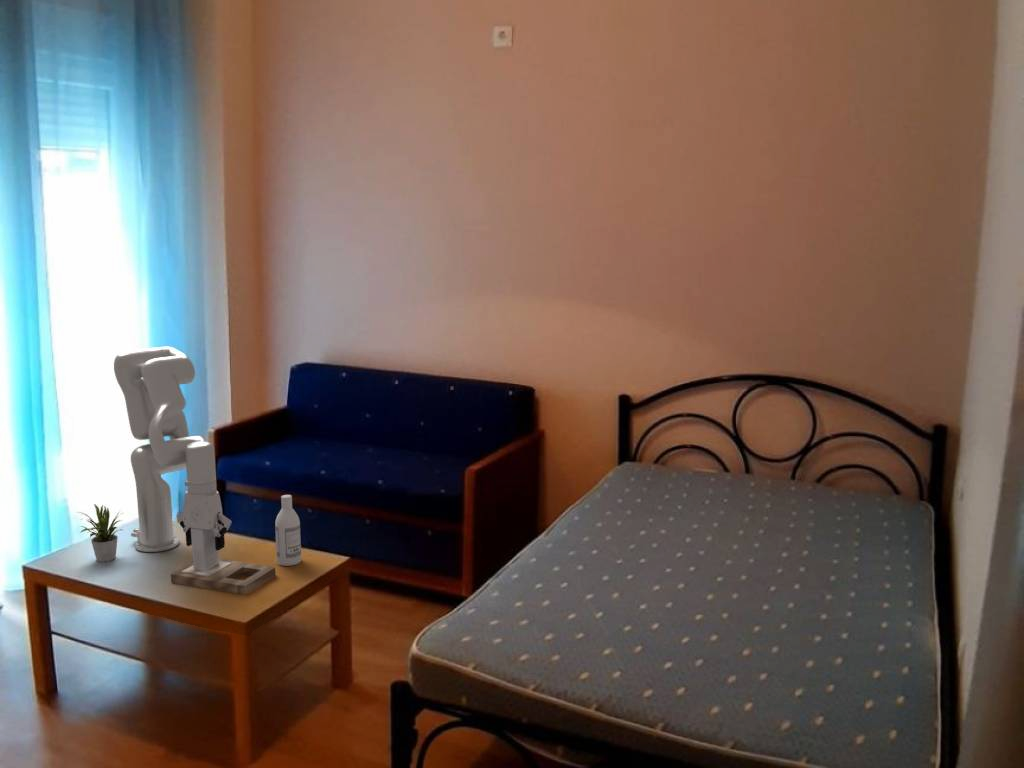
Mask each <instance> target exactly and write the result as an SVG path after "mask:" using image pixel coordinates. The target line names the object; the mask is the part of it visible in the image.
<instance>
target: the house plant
mask: <svg viewBox="0 0 1024 768" xmlns="http://www.w3.org/2000/svg"><path fill="white" fill-rule="evenodd" d="M93 506H94V509H95V512H96V516H97V522H95V521H94V520H93V519H92V518H91V517H90V516H89V515H88V514H86V513H83V512H81V511H77V513H79V514H80V515H82V516H83V515H84V516H85V517H88V518H87V522H88V523H89V524H91V525H92V526H93V527H90V528H88V527H86V526H83V525H82V526H80V527H81V528H84V529H82V530H81V531H79V532H80V533H83V532H85V531H88V532H86V533H87V534H88V533H90V535H89V538H90V539H91V540H90V541H91V545H92V548H93V552H94V555H95V560H96V561H97V562H98V561H100V562H99V563H105V562H104V561H107V562H111V561H113V559H114V560H115V559H116V558H117V548H118V547H117V546H118V539H119V537H118V535H117V534H116V533H117V532H118V531H123V529H117V528H118V527H117V526H115V525H117V523H119V522H123V520H122V519H121V520H117V519H118V518H119V516H120V515H122V514H124V512H121V513H117V514H116V515H115V517H114V518H113V520H112V521H111V524H110V526H109V523H110V517H111V516H110V514H111V513H110V509H109V507H107V506H105V505H104V504H102V505H101V507H100V508H99V506H98V505H97V504H95V503H93ZM103 507H104V508H103ZM120 511H122V509H120ZM79 520H80V521H81V520H82V518H80V519H79ZM116 529H117V530H116ZM80 533H79V534H80ZM93 536H95V537H93ZM91 537H93V538H91ZM110 560H111V561H110Z"/></svg>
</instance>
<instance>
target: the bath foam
mask: <svg viewBox="0 0 1024 768" xmlns="http://www.w3.org/2000/svg"><path fill="white" fill-rule="evenodd" d="M292 496H293V495H291V494H284V495H281V496H280V498H281V499H280V500H281V501H280V502H281V508H280V511H279V512H278V513H277V515H276V518H275V526H274V529H275V548H276V549H275V550H276V551H275V552H276V563H277V565H279V566H284V567H292V566H296V565H298V564H300V563H301V561H302V544H301V543H302V541H301V540H302V539H301V521H300V517H299V515H298V514H297V512H296V511H295V509H294V508H293V497H292Z"/></svg>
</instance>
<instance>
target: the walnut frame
mask: <svg viewBox="0 0 1024 768" xmlns="http://www.w3.org/2000/svg"><path fill="white" fill-rule="evenodd" d="M276 573H277V572H276V567H275V566H269V565H263V564H256V563H249V562H243V561H237V560H230V559H224V558H219V564H217V565H216V566H214V567H212V568H210V569H208V570H207V571H201V570H195V569H194V566H193V561H192V562H190V563H188V564H187V565H184V566H183V567H181V568H179V569H177V570H176V571H173V572H172V573H171V574H170V581H171V582H172V583H171V582H170V583H171V584H176V583H179V584H178V585H182V584H184V585H183V586H188V585H190V587H194V586H196V587H195V588H200V587H201V588H202V589H206V588H207V590H208V589H209V590H212V589H213V591H219V592H226V593H231V594H237V595H244V596H246V595H248V594H250V593H251V592H253V591H254V590H256V589H257V588H259V587H260V586H262V585H264V584H265V583H266V581H267V582H268V581H270V580H271V579H273V578H274V577H276ZM243 576H244V577H245V576H246V577H248V578H246V579H245V580H242V579H240V578H241V577H243ZM238 578H239V579H238ZM269 579H270V580H269ZM201 588H200V589H201Z"/></svg>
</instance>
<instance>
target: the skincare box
mask: <svg viewBox="0 0 1024 768" xmlns="http://www.w3.org/2000/svg"><path fill="white" fill-rule="evenodd" d="M216 536H217V535H216V534H215V533H214V531H213V530H203V529H195V528H191V540H192V545H191V550H192V562H193V566H194V569H195V570H201V571H207V570H208V569H210V568H212V567H214V566H216V565H217V564H219V559H220V558H219V557H220V556H219V555H220V554H219V550H218V551H217V550H216V549H215V537H216Z"/></svg>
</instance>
